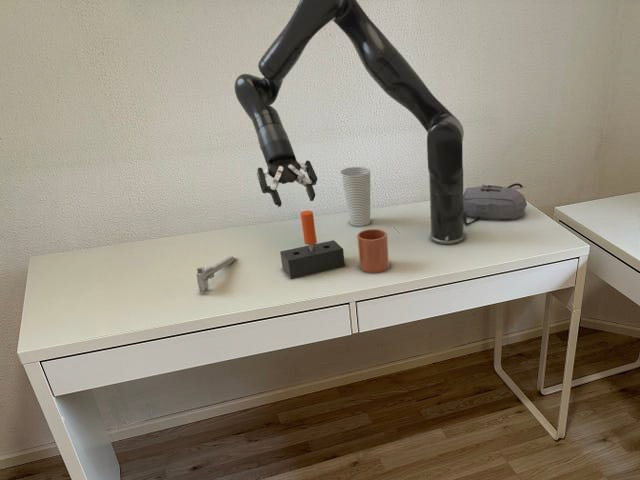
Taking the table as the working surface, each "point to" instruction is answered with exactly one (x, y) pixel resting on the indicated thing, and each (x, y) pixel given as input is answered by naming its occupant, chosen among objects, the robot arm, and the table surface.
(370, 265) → the pen cup
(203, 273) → the caliper
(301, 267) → the holder
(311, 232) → the orange screwdriver
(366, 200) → the cup
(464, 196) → the soft grey pack
